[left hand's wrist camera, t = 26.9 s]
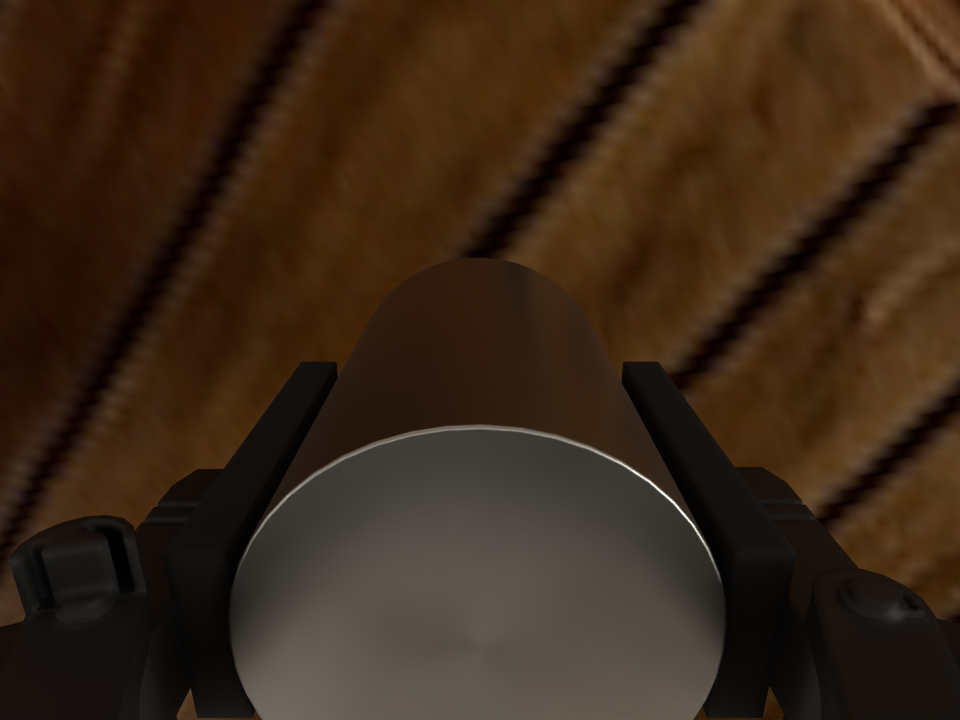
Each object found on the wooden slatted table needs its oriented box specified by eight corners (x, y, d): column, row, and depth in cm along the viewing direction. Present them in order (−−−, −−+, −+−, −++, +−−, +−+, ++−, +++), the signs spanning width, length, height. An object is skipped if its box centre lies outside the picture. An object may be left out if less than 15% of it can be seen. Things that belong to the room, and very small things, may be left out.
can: (574, 498, 18) (658, 839, 9) (347, 467, 17) (223, 793, 9) (626, 278, 15) (797, 466, 7) (367, 239, 15) (230, 388, 7)
